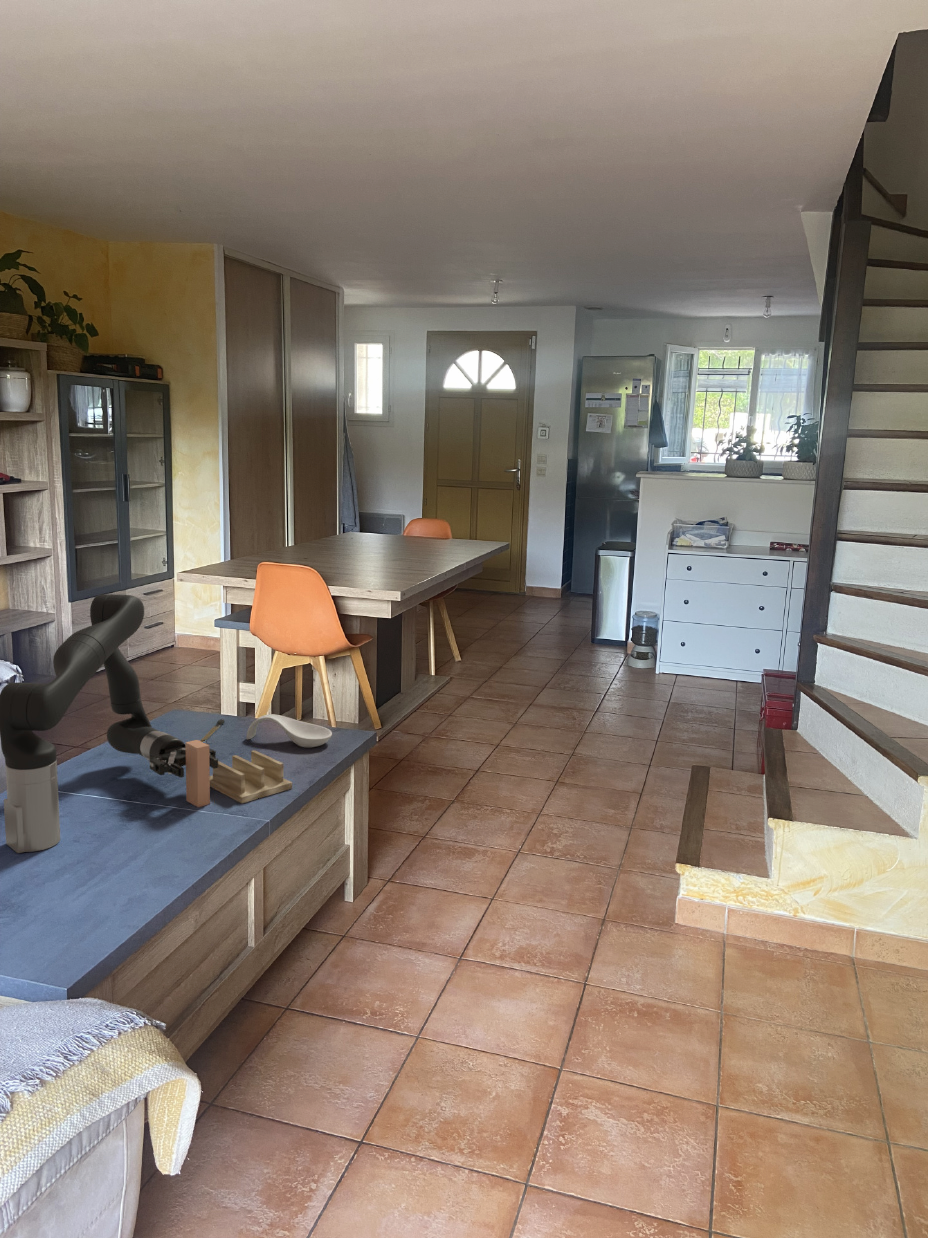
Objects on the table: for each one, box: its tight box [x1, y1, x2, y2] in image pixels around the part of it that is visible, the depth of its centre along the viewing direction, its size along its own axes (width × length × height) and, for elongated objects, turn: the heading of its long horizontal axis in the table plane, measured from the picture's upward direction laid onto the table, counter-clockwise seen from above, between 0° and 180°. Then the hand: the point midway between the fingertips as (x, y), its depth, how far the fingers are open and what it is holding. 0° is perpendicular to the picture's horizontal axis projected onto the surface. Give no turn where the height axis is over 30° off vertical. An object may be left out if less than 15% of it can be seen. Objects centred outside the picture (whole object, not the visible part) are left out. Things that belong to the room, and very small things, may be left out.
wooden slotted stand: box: [210, 749, 293, 804], centre depth 217 cm, size 14×16×6 cm
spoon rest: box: [246, 713, 333, 748], centre depth 249 cm, size 24×12×7 cm, turn 80°
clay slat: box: [185, 739, 211, 808], centre depth 205 cm, size 3×5×14 cm, turn 47°
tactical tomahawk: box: [199, 718, 226, 744], centre depth 253 cm, size 21×7×1 cm, turn 175°
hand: (199, 768), depth 204 cm, fingers open, 8 cm apart
